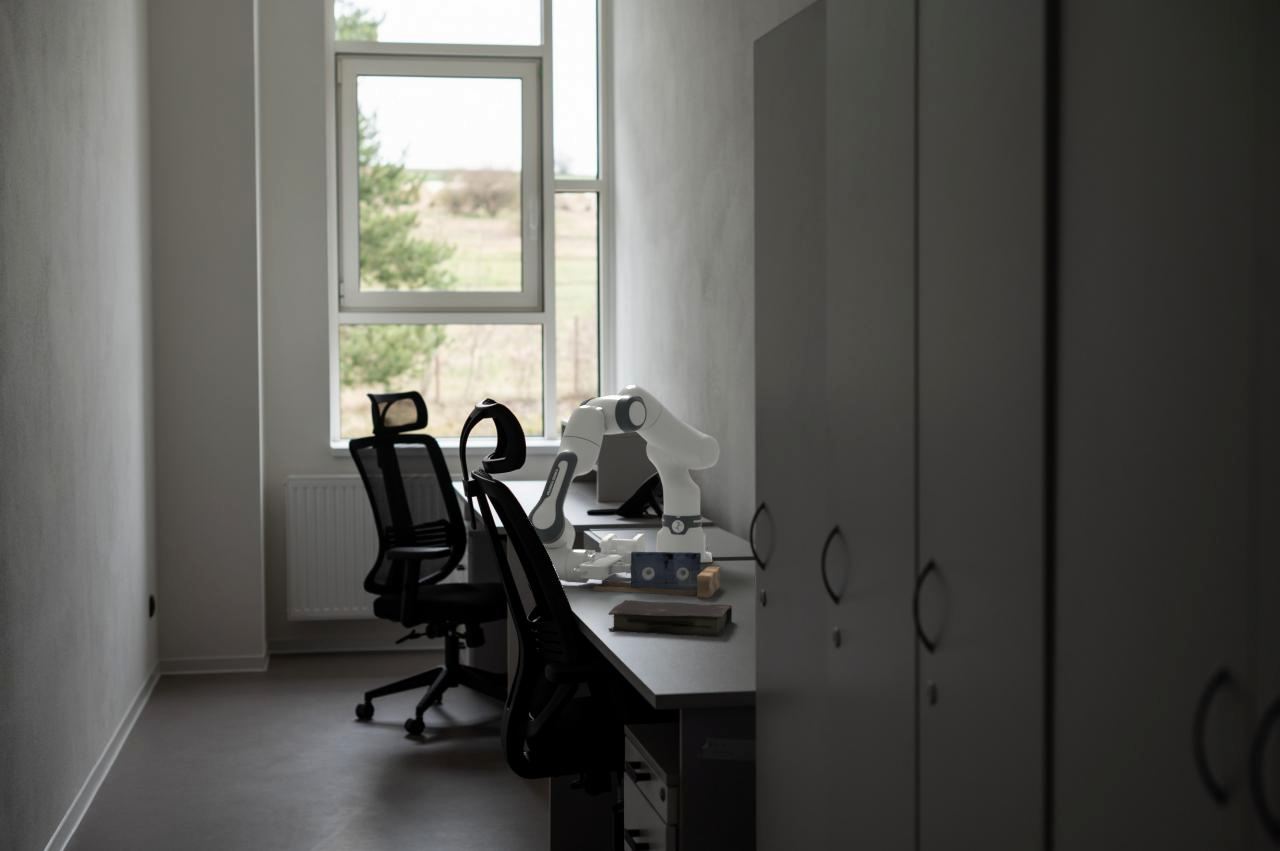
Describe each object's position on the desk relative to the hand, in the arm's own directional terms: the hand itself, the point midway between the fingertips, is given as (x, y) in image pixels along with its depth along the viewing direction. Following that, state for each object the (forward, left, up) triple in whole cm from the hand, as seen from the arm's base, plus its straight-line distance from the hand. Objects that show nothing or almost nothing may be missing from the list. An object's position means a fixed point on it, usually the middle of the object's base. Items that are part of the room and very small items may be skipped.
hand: (631, 568), depth 332 cm
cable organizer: (-18, -7, -6) cm, 20 cm away
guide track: (0, +7, -5) cm, 9 cm away
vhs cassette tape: (0, +9, -6) cm, 11 cm away
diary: (+45, +20, -6) cm, 50 cm away
